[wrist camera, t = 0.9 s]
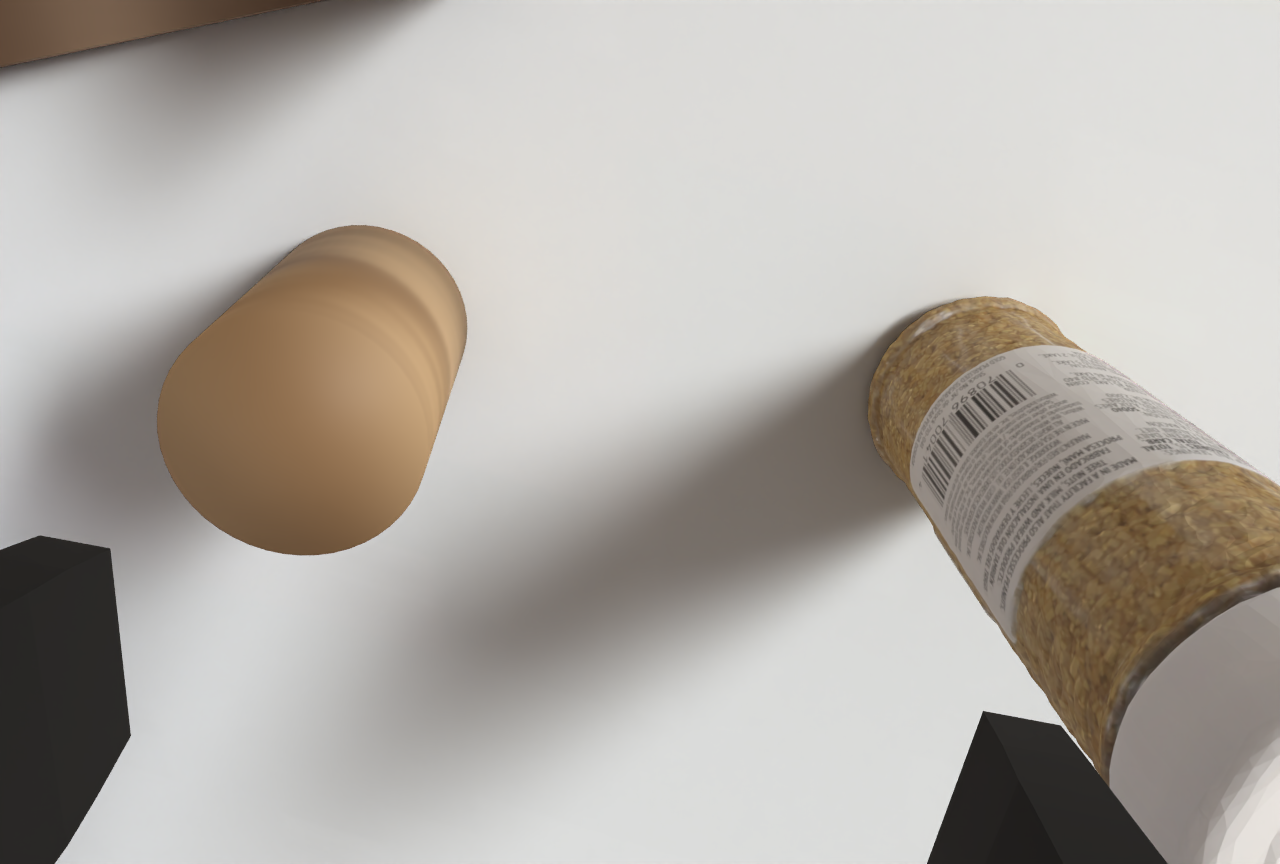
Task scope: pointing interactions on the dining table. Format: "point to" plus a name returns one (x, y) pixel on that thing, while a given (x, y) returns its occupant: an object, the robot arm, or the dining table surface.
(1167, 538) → the sprinkles bottle
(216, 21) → the cup bracket
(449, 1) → the dining table surface
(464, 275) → the dining table surface
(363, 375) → the oak peg
